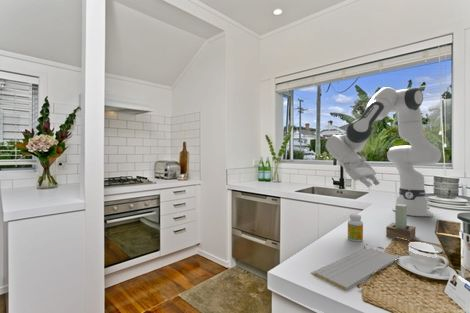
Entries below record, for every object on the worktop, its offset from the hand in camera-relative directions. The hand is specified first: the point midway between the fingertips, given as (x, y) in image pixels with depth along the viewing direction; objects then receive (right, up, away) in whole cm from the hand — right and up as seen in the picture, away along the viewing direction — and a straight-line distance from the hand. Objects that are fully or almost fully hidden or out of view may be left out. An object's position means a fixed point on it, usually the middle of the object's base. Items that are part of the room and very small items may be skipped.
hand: (374, 185), depth 106 cm
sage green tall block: (+7, -19, -7) cm, 22 cm away
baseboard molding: (-25, -21, -33) cm, 46 cm away
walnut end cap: (+7, -20, -7) cm, 23 cm away
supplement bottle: (-14, -21, -11) cm, 27 cm away
